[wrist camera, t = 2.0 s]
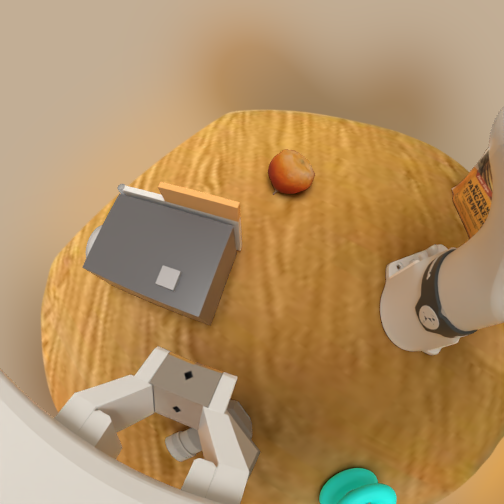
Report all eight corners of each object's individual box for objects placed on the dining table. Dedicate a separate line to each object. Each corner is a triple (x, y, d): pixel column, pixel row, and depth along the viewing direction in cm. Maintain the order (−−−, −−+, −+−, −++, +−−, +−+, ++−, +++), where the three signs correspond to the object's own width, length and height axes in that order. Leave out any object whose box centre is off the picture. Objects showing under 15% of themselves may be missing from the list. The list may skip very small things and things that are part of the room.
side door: (242, 245, 44) (240, 200, 31) (240, 252, 43) (236, 209, 31) (141, 214, 46) (111, 169, 33) (138, 220, 45) (106, 176, 33)
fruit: (252, 166, 48) (277, 137, 42) (285, 174, 53) (311, 149, 47) (263, 203, 46) (292, 175, 40) (297, 208, 50) (326, 184, 44)
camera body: (236, 254, 44) (233, 223, 34) (210, 325, 40) (197, 316, 30) (130, 220, 46) (105, 187, 36) (102, 280, 42) (68, 259, 32)
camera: (164, 420, 34) (124, 448, 20) (228, 386, 37) (216, 405, 23) (195, 463, 32) (171, 508, 18) (260, 431, 34) (267, 470, 20)
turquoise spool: (337, 497, 22) (404, 479, 22) (319, 471, 31) (376, 459, 31) (329, 544, 18) (393, 526, 18) (315, 514, 28) (370, 502, 28)
